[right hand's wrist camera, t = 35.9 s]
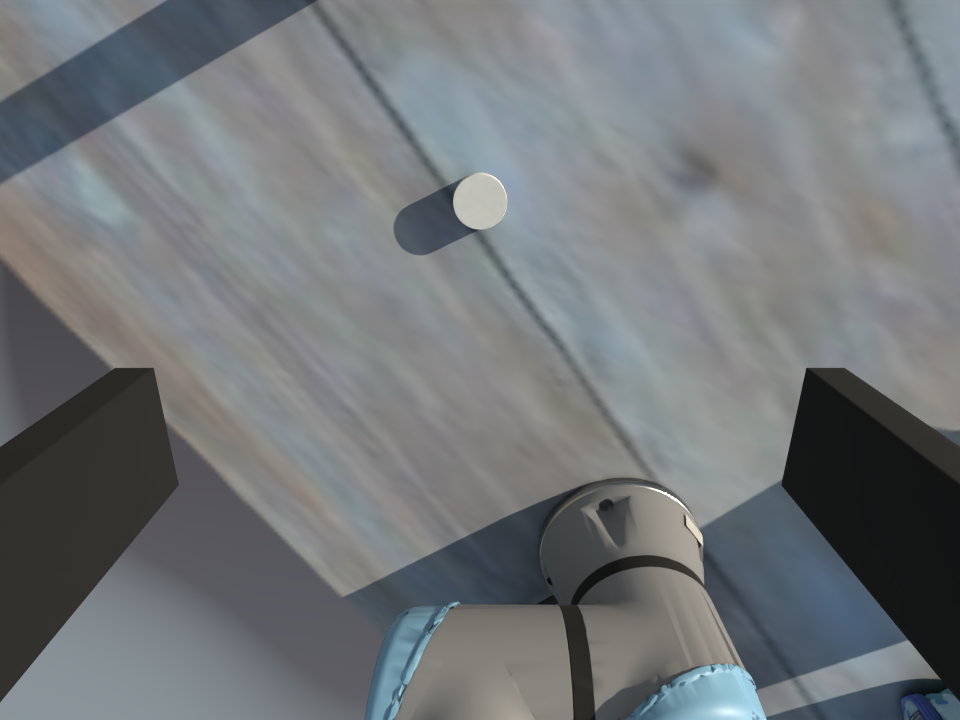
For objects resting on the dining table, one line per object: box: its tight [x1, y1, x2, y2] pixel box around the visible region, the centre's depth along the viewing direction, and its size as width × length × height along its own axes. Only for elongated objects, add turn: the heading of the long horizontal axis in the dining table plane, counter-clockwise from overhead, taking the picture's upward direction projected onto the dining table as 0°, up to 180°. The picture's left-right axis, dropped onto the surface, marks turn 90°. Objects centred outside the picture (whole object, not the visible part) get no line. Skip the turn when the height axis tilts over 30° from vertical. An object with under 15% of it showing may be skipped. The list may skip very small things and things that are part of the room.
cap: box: [453, 173, 507, 230], centre depth 46 cm, size 4×4×2 cm
